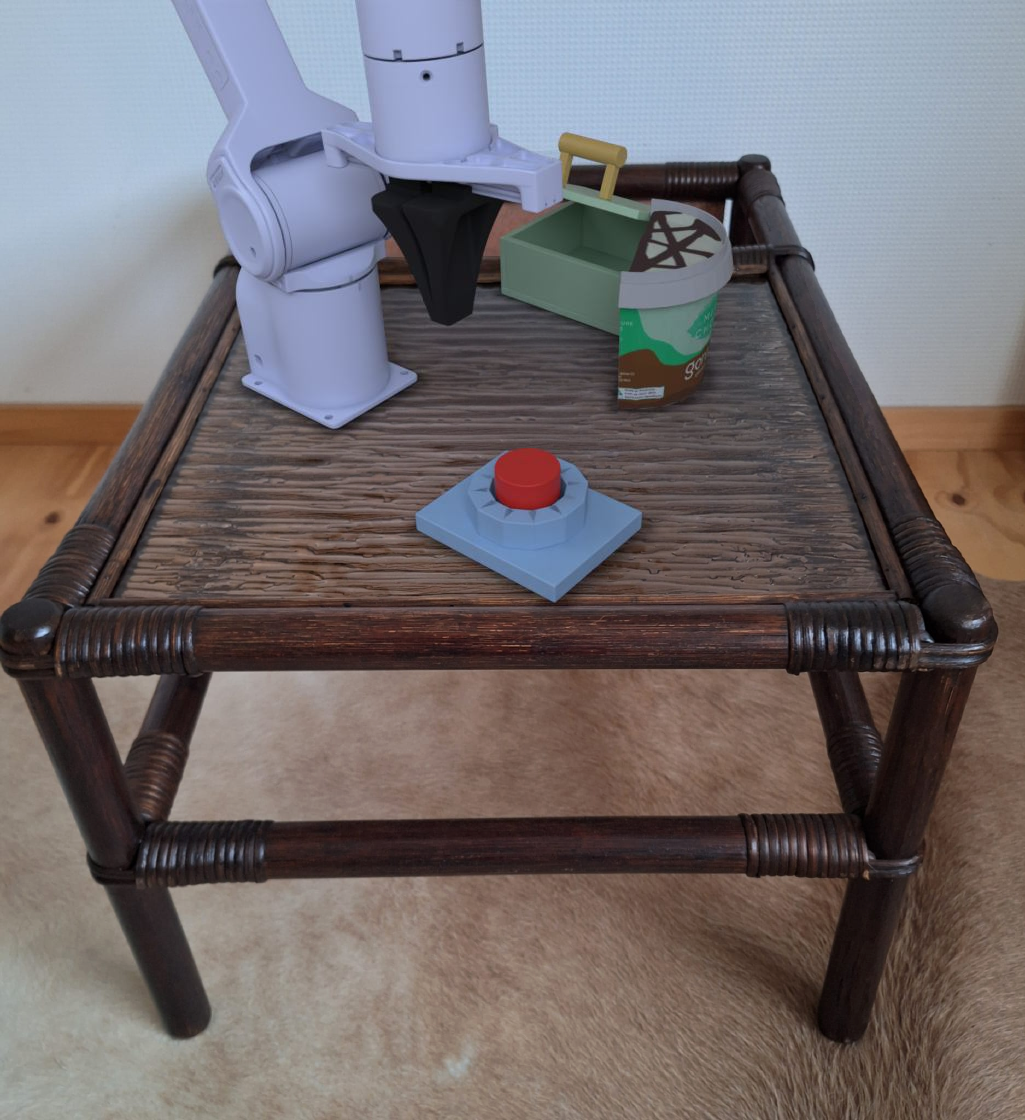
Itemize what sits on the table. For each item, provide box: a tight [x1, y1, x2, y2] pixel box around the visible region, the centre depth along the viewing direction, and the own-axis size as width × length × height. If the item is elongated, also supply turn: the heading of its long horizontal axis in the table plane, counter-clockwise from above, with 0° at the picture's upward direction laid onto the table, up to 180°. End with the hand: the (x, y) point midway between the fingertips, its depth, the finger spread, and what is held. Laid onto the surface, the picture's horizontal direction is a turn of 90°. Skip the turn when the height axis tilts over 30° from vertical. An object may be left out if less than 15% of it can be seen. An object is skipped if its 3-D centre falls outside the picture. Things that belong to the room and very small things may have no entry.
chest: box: [499, 200, 649, 336], centre depth 82 cm, size 10×12×5 cm
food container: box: [617, 198, 734, 410], centre depth 70 cm, size 12×6×10 cm, turn 165°
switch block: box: [414, 450, 643, 604], centre depth 60 cm, size 10×8×3 cm
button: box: [494, 447, 561, 511], centre depth 59 cm, size 4×4×2 cm
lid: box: [557, 131, 651, 222], centre depth 78 cm, size 11×12×4 cm
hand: (452, 317), depth 58 cm, fingers closed
